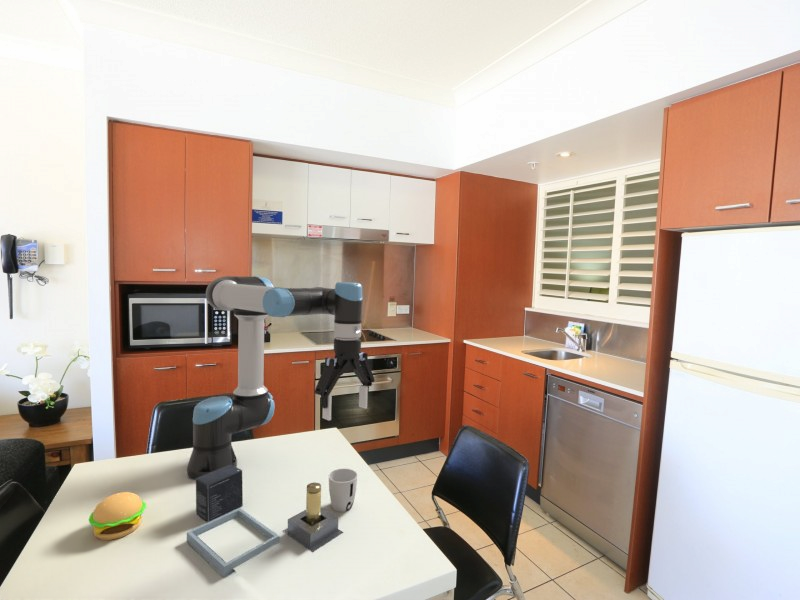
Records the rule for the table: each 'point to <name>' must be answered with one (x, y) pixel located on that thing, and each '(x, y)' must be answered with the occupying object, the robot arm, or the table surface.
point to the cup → (342, 489)
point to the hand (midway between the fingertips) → (345, 413)
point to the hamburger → (117, 515)
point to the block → (313, 530)
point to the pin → (313, 504)
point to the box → (219, 492)
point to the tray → (228, 567)
